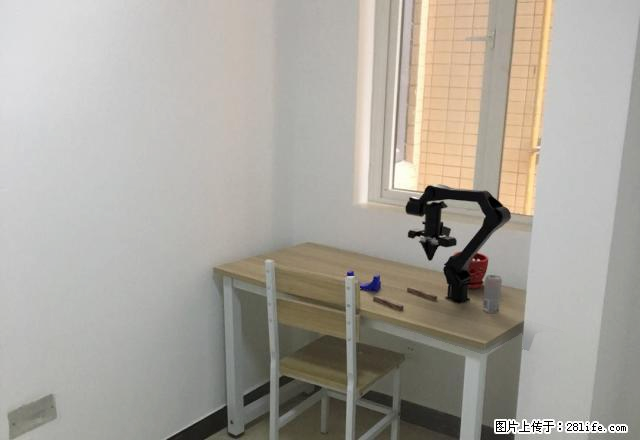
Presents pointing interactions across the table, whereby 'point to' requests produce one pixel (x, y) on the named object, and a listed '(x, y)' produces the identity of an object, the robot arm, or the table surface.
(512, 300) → the table surface
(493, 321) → the table surface
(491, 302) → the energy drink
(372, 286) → the cable clip
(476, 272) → the plant pot
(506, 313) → the table surface
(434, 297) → the brown wooden bars
